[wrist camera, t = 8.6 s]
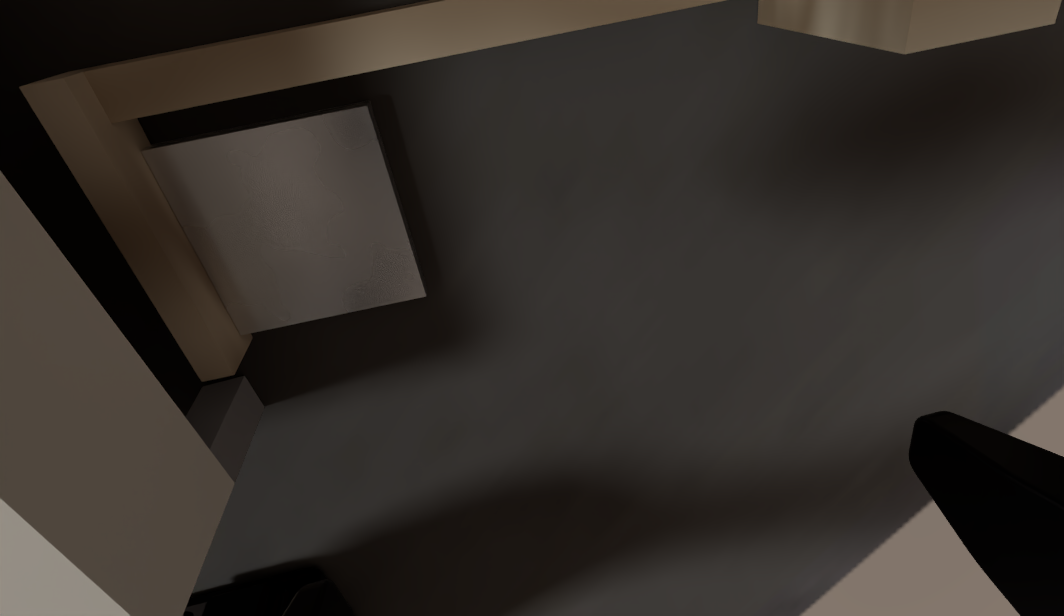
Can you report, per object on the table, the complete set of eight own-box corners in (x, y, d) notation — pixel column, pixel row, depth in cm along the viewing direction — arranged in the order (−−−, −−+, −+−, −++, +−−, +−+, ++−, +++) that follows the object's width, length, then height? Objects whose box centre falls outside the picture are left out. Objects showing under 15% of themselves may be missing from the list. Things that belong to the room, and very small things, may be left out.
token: (427, 278, 19) (426, 296, 18) (251, 315, 19) (240, 335, 18) (371, 96, 16) (367, 105, 15) (159, 138, 16) (141, 151, 15)
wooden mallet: (833, 214, 20) (970, 305, 14) (222, 344, 19) (142, 485, 14) (878, -131, 14) (1115, -177, 9) (46, 32, 14) (-181, 76, 9)
